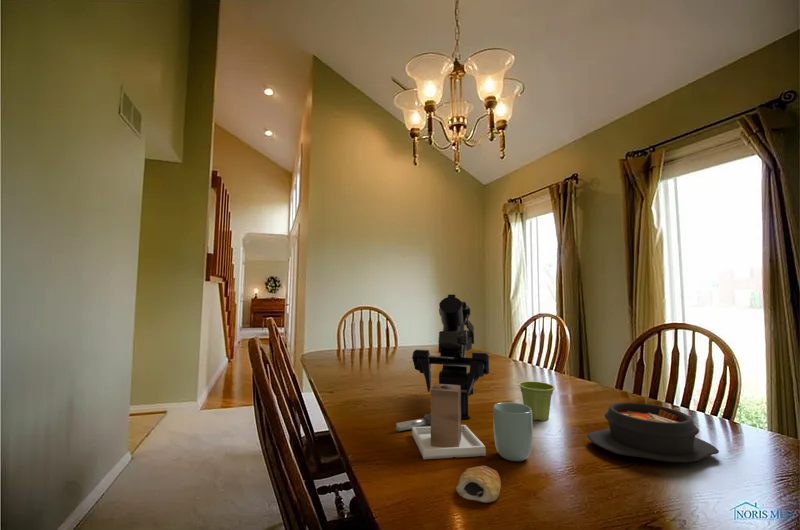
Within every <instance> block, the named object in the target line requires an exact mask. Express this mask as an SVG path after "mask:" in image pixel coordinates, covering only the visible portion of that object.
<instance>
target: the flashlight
mask: <svg viewBox="0 0 800 530" xmlns="http://www.w3.org/2000/svg"><path fill="white" fill-rule="evenodd" d="M428 426H431V413H427V414H424V415H423V417H422V418H417V419H412V420H406V421H401V422H396V423H395V430H396V431H397V432H398V433H399V432H403V431H410V430H412V427H428Z"/></svg>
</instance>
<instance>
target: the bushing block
mask: <svg viewBox="0 0 800 530" xmlns="http://www.w3.org/2000/svg"><path fill="white" fill-rule="evenodd" d="M430 414H431V446H434V447H443V448H449V447H459V445H460V441H461V425H462V419H461V385H450V384H439V383H434V385H433V386H432V387H431V388H430Z"/></svg>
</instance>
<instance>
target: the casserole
mask: <svg viewBox="0 0 800 530" xmlns="http://www.w3.org/2000/svg"><path fill="white" fill-rule="evenodd" d="M604 418H605V419H606V420H607V422H608V425H609V427H608V428H605V429H603V430H596V431H595V430H594V431H591V432H589V433H588V434H587V438H588V439H589V440H590V441H591V442H592V443H593V444H594V445H596V446H597V447H600V448H602V449H604V450H606V451H609V452H611V453H613V454H616V455H621V456H627V457H636V458H641V459H645V460H648V459H649V461H654V462H660V463H692V462H696V461H701V460H702V459H705V458H706V457H708V456H712V455H717V454H719V453H720V451H719V449H718V448H717V447H716V446H715V445H712V444H711V443H709V442H707V441H705V440H704V439H701V438H698V437H696V436H697V435H698V434H699V432H700V429H699V428H698V427H697V426H696V425H695V423H694V420H693V418H692V417H691V416H690V415H688V414H687V413H684V412H682V411H679V410H677V409H674V408H669V407H665V406H661V405H656V404H650V403H643V402H616V403H612V404H610V405H609V407H608V410H607V411H606V412H605V413H604Z"/></svg>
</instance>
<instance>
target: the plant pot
mask: <svg viewBox="0 0 800 530" xmlns="http://www.w3.org/2000/svg"><path fill="white" fill-rule="evenodd" d="M518 386H519V388H520V392H521V395H522V402H523V403H522V404H523V405H526V406H529V407H530V408H531V410H532V421H537V420H539V421H541V422H543V421H548V420H549V419H550V411H551V402H552V395H553V393H554V390H555V388H556V387H555V386H554V385H553V384H550V383H548V382H543V381H535V380H534V381H532V380H529V381H527V380H525V381H521V382H519V383H518Z"/></svg>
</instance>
